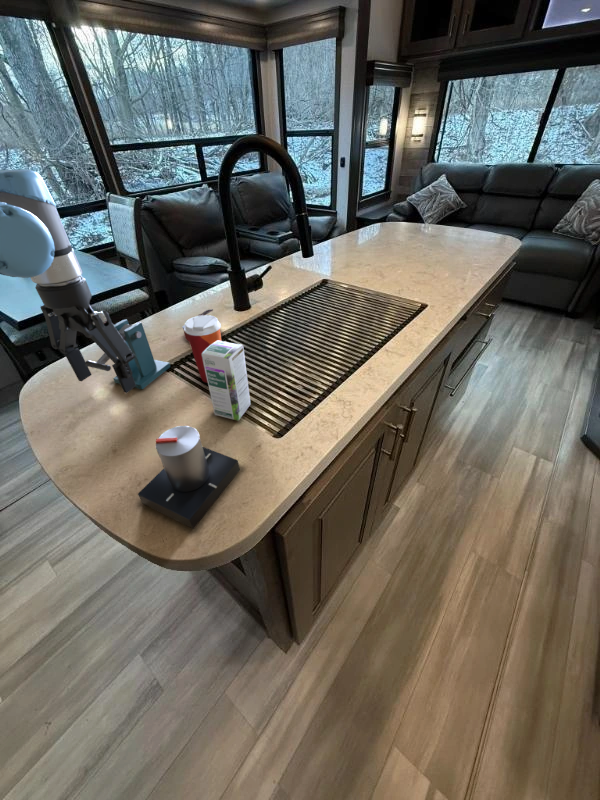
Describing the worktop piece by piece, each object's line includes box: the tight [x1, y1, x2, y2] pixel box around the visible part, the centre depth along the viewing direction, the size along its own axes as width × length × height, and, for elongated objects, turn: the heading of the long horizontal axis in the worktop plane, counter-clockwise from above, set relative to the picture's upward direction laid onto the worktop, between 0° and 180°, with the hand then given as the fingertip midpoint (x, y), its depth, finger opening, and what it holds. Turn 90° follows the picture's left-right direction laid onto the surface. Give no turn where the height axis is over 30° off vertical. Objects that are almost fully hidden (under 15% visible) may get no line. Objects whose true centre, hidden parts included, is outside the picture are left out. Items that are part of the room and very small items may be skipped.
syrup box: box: [202, 340, 251, 422], centre depth 64 cm, size 6×6×14 cm
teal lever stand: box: [112, 319, 171, 390], centre depth 75 cm, size 10×8×13 cm
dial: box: [155, 425, 209, 492], centre depth 49 cm, size 6×6×8 cm
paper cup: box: [183, 314, 222, 384], centre depth 74 cm, size 8×8×14 cm
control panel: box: [137, 446, 241, 530], centre depth 53 cm, size 12×10×3 cm
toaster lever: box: [85, 324, 133, 372], centre depth 70 cm, size 12×6×2 cm, turn 159°
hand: (107, 383), depth 70 cm, fingers open, 12 cm apart
